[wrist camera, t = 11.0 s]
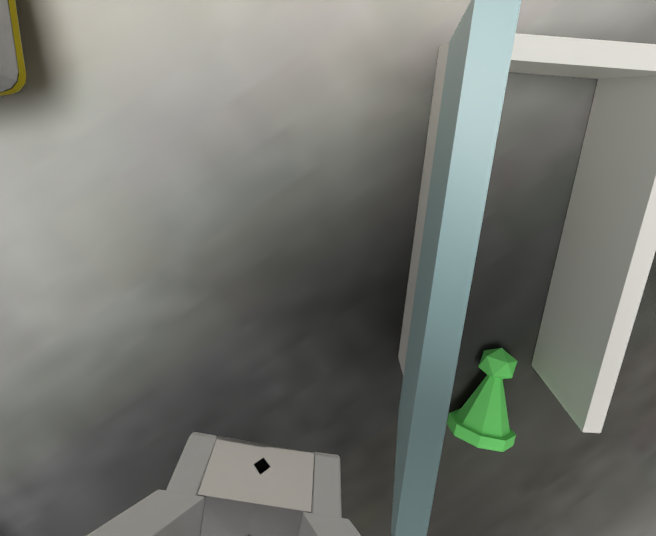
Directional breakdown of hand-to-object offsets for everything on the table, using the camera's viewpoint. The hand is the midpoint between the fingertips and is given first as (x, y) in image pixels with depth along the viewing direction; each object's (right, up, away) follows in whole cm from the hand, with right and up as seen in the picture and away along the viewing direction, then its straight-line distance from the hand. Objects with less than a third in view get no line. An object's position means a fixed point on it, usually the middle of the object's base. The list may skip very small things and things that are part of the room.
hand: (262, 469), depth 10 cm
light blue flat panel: (+6, +3, +9) cm, 11 cm away
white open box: (+12, +7, +20) cm, 24 cm away
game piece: (+11, -7, +23) cm, 26 cm away
